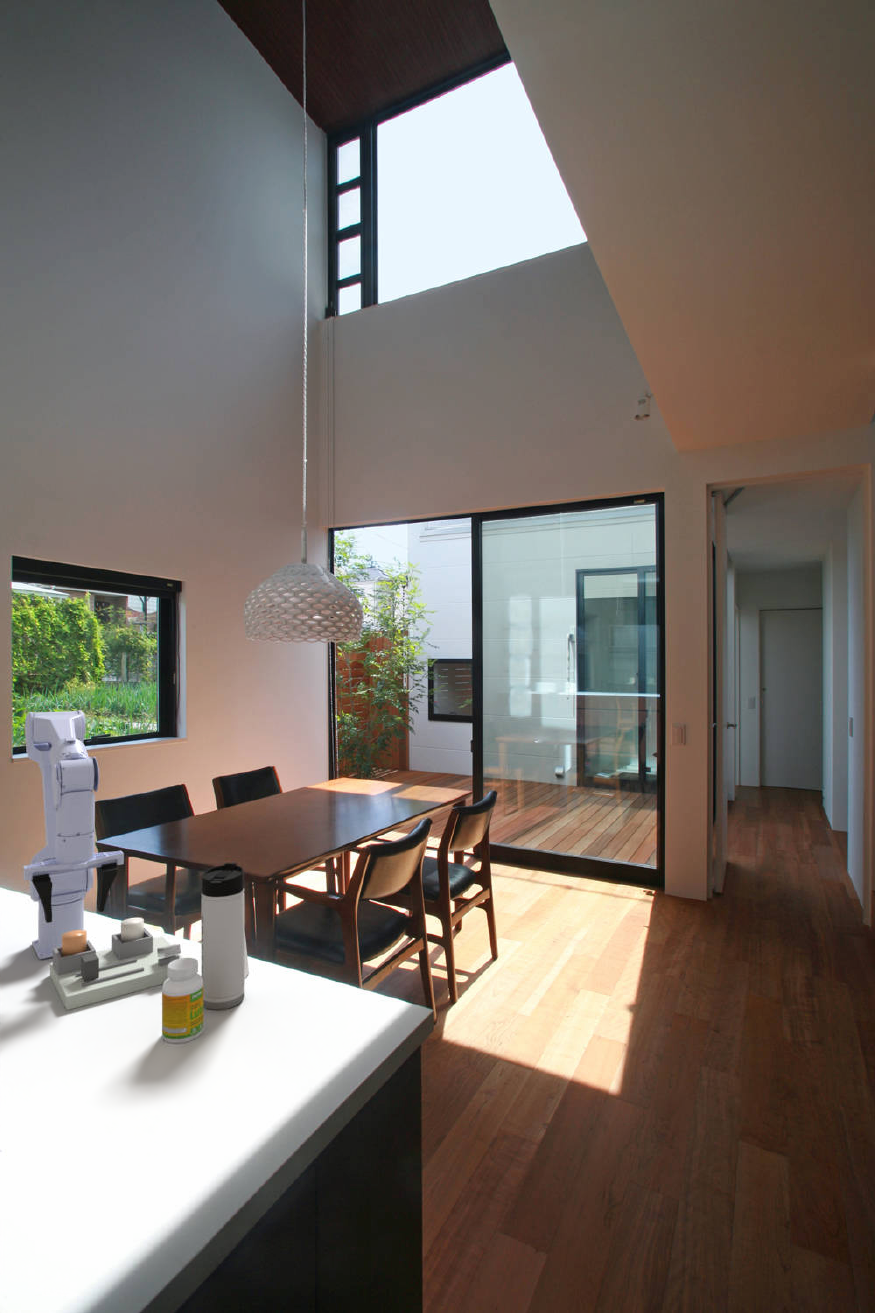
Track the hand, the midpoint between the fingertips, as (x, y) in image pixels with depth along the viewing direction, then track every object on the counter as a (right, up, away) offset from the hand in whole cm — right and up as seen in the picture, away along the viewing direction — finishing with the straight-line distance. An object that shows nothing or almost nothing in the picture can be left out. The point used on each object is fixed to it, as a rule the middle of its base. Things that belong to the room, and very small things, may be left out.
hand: (75, 915), depth 112 cm
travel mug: (+27, -10, -8) cm, 30 cm away
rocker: (+15, -6, +1) cm, 16 cm away
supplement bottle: (+24, -10, -17) cm, 32 cm away
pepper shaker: (+26, -10, 0) cm, 28 cm away
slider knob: (+5, -8, -5) cm, 10 cm away
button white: (+7, -6, +6) cm, 11 cm away
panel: (+7, -10, +1) cm, 12 cm away
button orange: (0, -6, 0) cm, 6 cm away
